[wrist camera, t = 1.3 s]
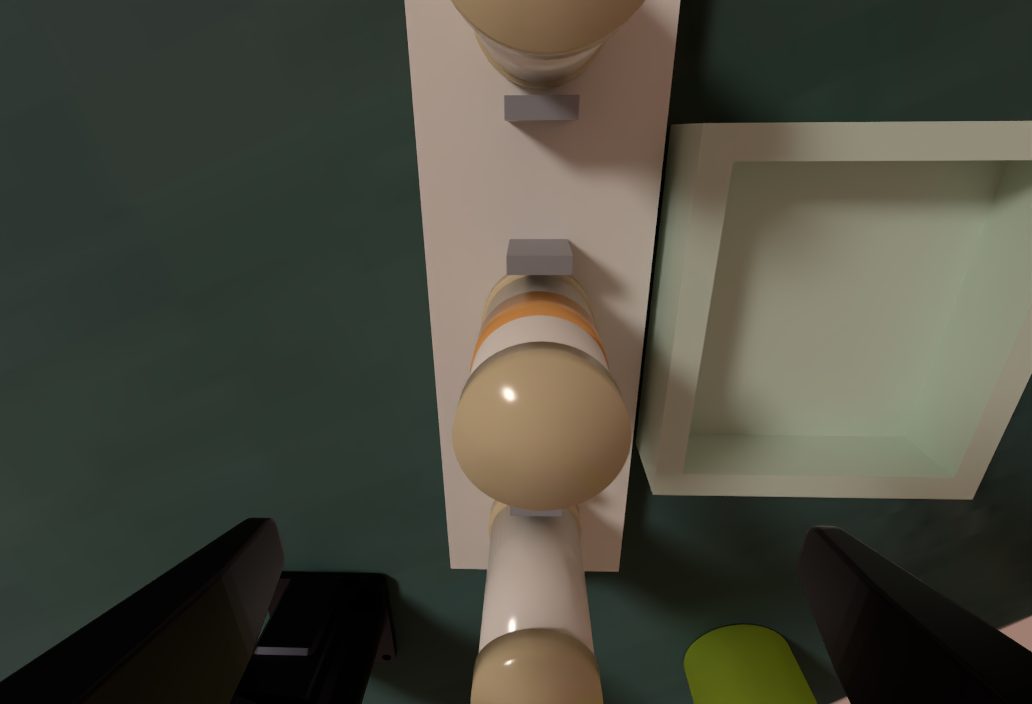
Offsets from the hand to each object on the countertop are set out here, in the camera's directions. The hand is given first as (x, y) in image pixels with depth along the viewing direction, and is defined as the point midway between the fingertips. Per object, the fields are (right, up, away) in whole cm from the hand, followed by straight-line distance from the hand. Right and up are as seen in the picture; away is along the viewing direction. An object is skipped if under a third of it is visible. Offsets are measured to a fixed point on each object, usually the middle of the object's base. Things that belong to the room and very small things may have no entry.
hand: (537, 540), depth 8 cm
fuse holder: (0, +5, +11) cm, 12 cm away
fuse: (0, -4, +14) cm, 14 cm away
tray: (+11, +5, +11) cm, 16 cm away
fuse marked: (0, +4, +10) cm, 11 cm away
